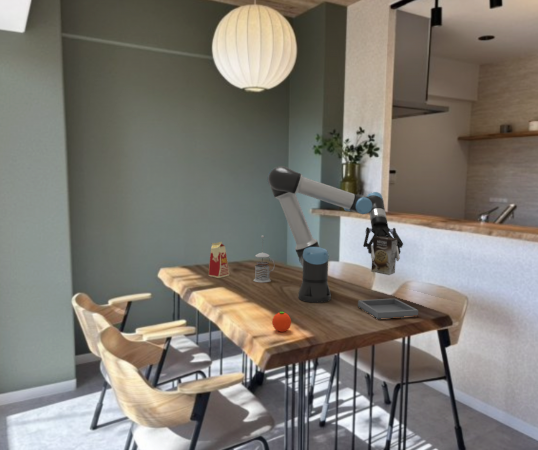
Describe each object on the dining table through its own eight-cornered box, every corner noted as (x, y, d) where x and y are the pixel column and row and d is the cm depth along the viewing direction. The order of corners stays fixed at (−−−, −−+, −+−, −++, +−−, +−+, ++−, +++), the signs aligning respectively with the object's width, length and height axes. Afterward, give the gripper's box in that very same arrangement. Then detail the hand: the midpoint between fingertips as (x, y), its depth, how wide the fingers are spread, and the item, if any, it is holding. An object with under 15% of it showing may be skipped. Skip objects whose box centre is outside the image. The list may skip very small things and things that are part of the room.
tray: (377, 320, 172) (378, 312, 172) (357, 307, 189) (358, 300, 189) (417, 317, 176) (418, 310, 176) (394, 304, 194) (395, 298, 193)
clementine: (271, 327, 162) (271, 308, 161) (289, 327, 162) (290, 308, 162) (272, 334, 154) (273, 315, 153) (292, 334, 154) (292, 315, 154)
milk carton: (229, 275, 249) (229, 240, 247) (219, 278, 241) (219, 242, 239) (217, 273, 254) (217, 239, 251) (206, 276, 246) (206, 241, 244)
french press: (253, 278, 242) (254, 233, 240) (274, 278, 242) (275, 234, 240) (252, 282, 233) (253, 236, 230) (274, 282, 232) (274, 236, 230)
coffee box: (370, 271, 197) (372, 237, 195) (377, 269, 202) (378, 235, 200) (389, 275, 191) (391, 239, 189) (395, 272, 196) (397, 237, 194)
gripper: (400, 225, 210) (409, 264, 196) (353, 224, 209) (358, 263, 196) (404, 215, 204) (413, 255, 190) (356, 214, 203) (361, 254, 190)
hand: (385, 259), depth 193 cm, fingers closed on coffee box, 10 cm apart
